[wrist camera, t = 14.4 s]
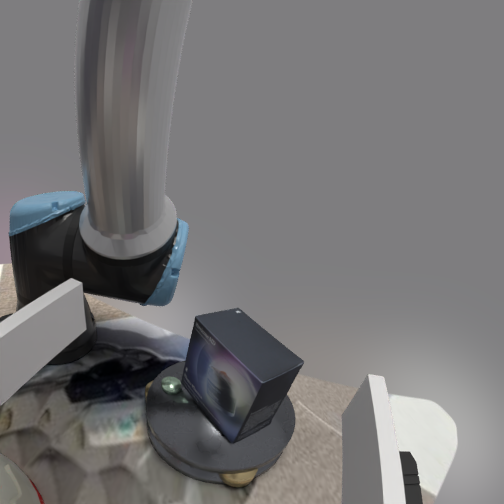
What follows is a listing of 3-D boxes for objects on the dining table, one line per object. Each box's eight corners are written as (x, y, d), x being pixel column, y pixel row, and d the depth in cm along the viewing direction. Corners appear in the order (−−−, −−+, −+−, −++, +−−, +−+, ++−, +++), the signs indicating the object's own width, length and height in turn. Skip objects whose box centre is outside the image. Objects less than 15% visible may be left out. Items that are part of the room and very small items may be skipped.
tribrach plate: (115, 444, 25) (109, 420, 23) (172, 362, 42) (175, 336, 40) (274, 499, 23) (288, 482, 21) (291, 398, 40) (301, 374, 38)
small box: (176, 382, 32) (191, 313, 29) (217, 370, 36) (238, 305, 33) (230, 446, 25) (261, 381, 22) (272, 424, 30) (307, 360, 27)
